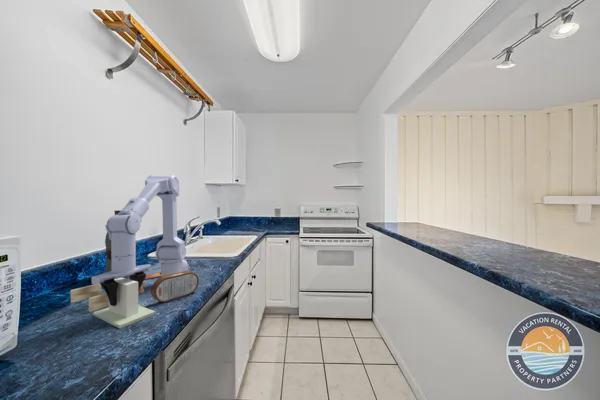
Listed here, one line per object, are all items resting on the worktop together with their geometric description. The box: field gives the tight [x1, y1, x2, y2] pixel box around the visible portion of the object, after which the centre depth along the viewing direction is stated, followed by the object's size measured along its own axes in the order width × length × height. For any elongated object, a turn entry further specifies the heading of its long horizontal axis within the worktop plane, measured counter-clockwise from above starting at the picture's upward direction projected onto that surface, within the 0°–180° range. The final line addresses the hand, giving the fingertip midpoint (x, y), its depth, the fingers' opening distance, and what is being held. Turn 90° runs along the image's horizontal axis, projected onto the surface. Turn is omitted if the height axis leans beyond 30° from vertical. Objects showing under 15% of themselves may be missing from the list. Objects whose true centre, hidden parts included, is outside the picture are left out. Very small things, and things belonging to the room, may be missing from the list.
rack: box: [70, 284, 109, 313], centre depth 78 cm, size 8×15×4 cm, turn 60°
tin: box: [150, 270, 200, 303], centre depth 81 cm, size 15×3×8 cm, turn 141°
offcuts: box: [129, 279, 146, 295], centre depth 88 cm, size 3×11×4 cm, turn 61°
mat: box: [92, 304, 156, 329], centre depth 69 cm, size 9×16×1 cm, turn 60°
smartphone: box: [125, 271, 161, 281], centre depth 103 cm, size 7×15×1 cm, turn 128°
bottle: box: [104, 209, 129, 278], centre depth 106 cm, size 9×9×30 cm
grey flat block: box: [108, 278, 139, 317], centre depth 69 cm, size 3×10×9 cm, turn 62°
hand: (124, 301), depth 69 cm, fingers open, 5 cm apart
